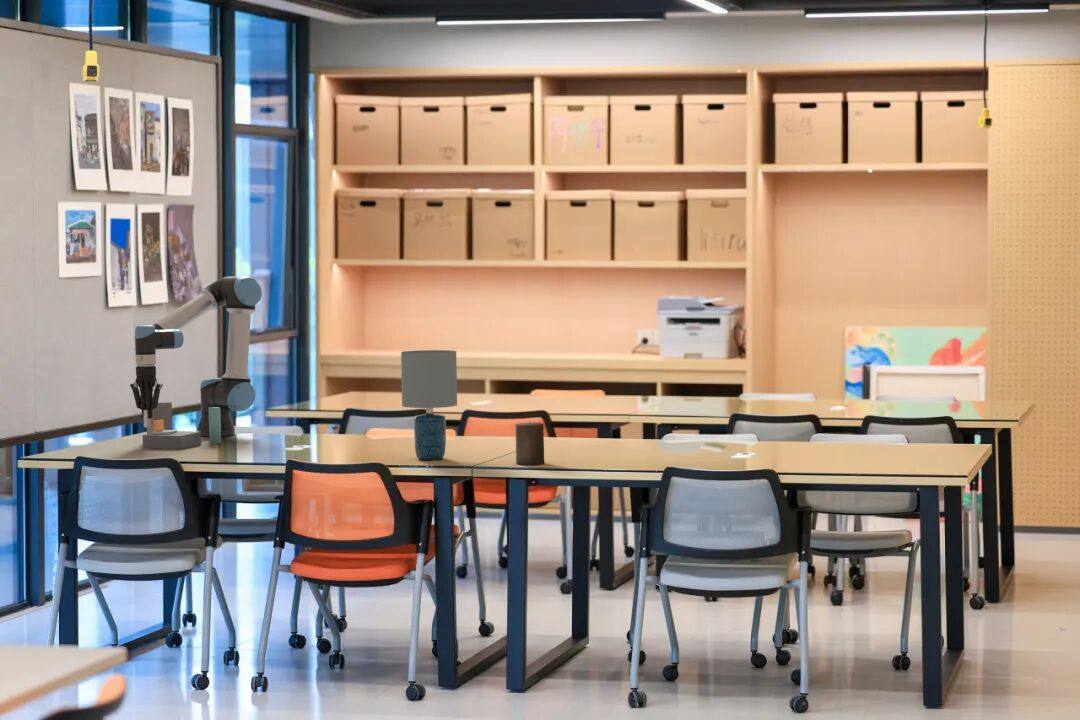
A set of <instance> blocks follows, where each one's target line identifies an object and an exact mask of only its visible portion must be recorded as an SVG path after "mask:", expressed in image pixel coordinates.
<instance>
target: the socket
mask: <svg viewBox="0 0 1080 720" xmlns="http://www.w3.org/2000/svg"><path fill="white" fill-rule="evenodd" d="M141 436H142V449H145V448H167V449H166V450H184V449H188V447H189V448H191V447H192V446H193V447H196V446H201V445H202V436H201V432H197V431H187V430H186V431H185V430H184V431H181V430H180V431H178V430H177V432H176V433H171V434H152V433H151V434H147V433H146V434H143V435H141Z"/></svg>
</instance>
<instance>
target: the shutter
mask: <svg viewBox="0 0 1080 720" xmlns="http://www.w3.org/2000/svg"><path fill="white" fill-rule="evenodd" d="M177 431H178V429H172V430H164V420H156V421H153V432H152V434H171V433H176V432H177Z"/></svg>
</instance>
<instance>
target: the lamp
mask: <svg viewBox="0 0 1080 720" xmlns="http://www.w3.org/2000/svg"><path fill="white" fill-rule="evenodd" d="M400 357H401V358H400V360H401V361H400V362H401V363H400V364H401V365H400V367H401V370H400V371H401V406H402V407H403V408H413V409H422V408H423V409H425V413H423V414H419V415H414V417H413V431H414V432H413V434H414V437H413V438H414V450H415V451H414V452H415V456H416V458H417V459H418V460H420V459H421V461H437V460H442V459H443V458H445V453H446V443H447V441H446V440H447V421H446V416H445V415H443V414H438V413H434V409H436V408H437V409H438V408H439V409H442V408H450V407H451V408H452V407H455V406H458V381H457V380H458V379H457V378H458V376H457V373H458V372H457V367H458V366H457V350H452V349H450V350H449V349H448V350H444V349H441V350H439V349H433V350H432V349H431V350H429V349H428V350H427V349H426V350H423V349H421V350H407V351H406V350H405V351H401V352H400Z"/></svg>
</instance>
